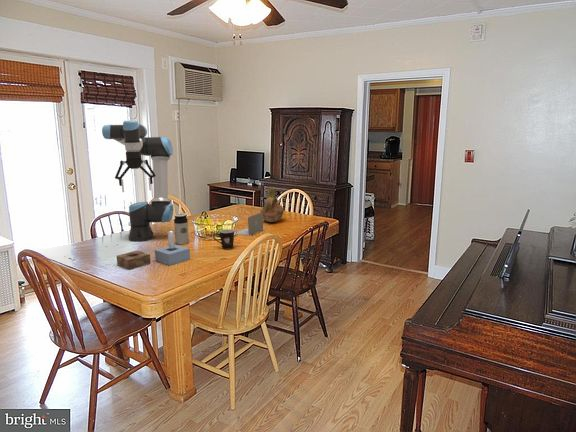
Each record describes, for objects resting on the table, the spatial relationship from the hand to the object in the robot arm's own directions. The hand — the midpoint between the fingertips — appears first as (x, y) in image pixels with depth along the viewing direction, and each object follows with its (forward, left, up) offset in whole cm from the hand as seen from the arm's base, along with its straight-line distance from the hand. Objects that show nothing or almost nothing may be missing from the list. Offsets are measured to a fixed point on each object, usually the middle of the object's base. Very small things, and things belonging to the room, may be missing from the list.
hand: (136, 191), depth 221 cm
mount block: (+8, -10, -37) cm, 39 cm away
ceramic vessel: (0, +107, -37) cm, 113 cm away
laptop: (+8, +74, -37) cm, 83 cm away
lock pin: (+18, +7, -36) cm, 41 cm away
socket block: (+18, +7, -37) cm, 41 cm away
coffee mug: (+23, +40, -37) cm, 59 cm away
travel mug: (-5, +30, -37) cm, 48 cm away
